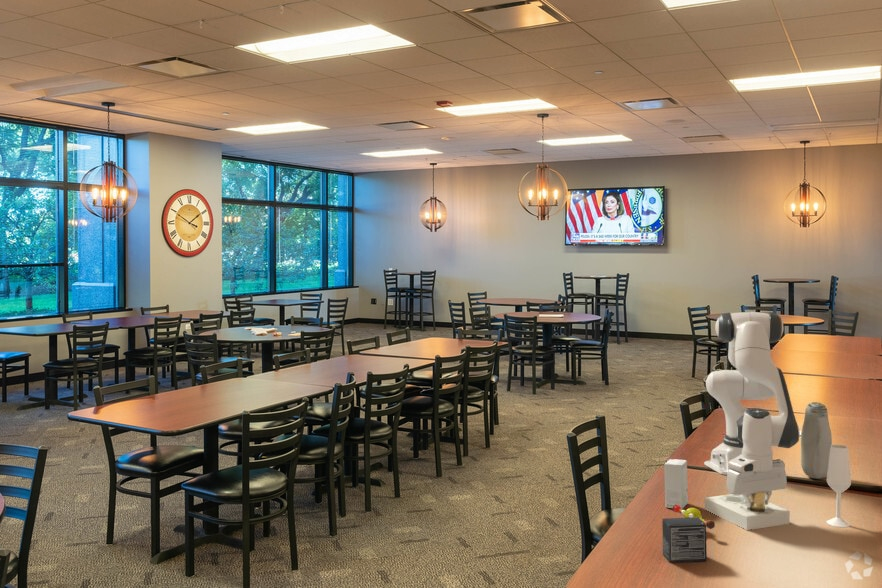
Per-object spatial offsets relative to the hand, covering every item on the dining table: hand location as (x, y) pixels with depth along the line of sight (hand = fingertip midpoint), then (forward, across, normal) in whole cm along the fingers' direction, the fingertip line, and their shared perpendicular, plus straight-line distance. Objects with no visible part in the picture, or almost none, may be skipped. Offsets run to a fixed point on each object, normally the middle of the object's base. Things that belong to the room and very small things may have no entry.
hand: (756, 505), depth 239 cm
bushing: (+2, 0, 0) cm, 2 cm away
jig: (+5, 0, -5) cm, 7 cm away
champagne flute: (+5, -22, +10) cm, 25 cm away
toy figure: (+5, +23, -1) cm, 24 cm away
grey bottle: (+5, -52, -30) cm, 60 cm away
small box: (+5, +38, +16) cm, 42 cm away
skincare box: (+5, +14, -22) cm, 27 cm away
